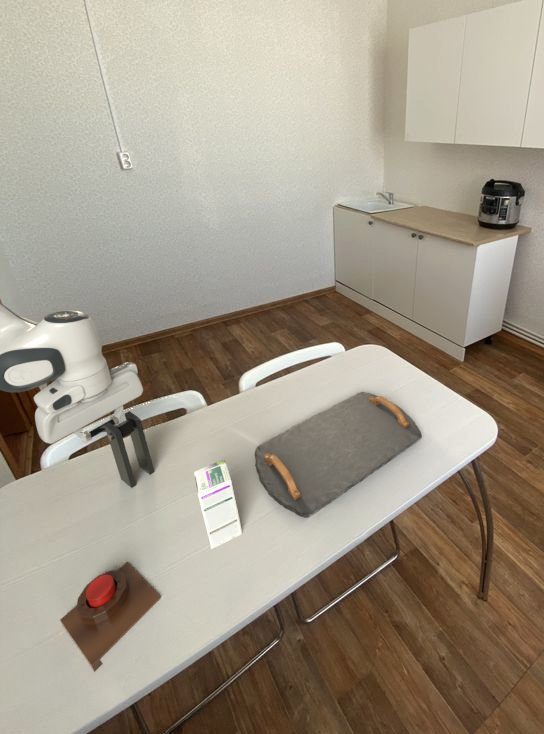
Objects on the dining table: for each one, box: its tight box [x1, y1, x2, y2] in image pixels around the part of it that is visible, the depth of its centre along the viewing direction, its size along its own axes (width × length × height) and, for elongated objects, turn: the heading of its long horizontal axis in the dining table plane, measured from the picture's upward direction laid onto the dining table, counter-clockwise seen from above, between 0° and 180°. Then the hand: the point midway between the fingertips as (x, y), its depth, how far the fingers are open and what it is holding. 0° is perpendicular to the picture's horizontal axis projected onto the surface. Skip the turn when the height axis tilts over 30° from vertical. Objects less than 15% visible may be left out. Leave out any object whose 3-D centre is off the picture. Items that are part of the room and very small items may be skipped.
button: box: [86, 575, 116, 607], centre depth 60 cm, size 4×4×2 cm
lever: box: [88, 419, 135, 438], centre depth 83 cm, size 16×5×2 cm, turn 58°
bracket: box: [104, 410, 155, 489], centre depth 81 cm, size 10×8×16 cm
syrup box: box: [193, 459, 243, 550], centre depth 70 cm, size 6×6×14 cm
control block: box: [59, 561, 161, 673], centre depth 59 cm, size 10×10×4 cm
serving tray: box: [254, 391, 423, 519], centre depth 90 cm, size 39×23×6 cm, turn 129°
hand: (102, 431), depth 88 cm, fingers closed on lever, 5 cm apart
